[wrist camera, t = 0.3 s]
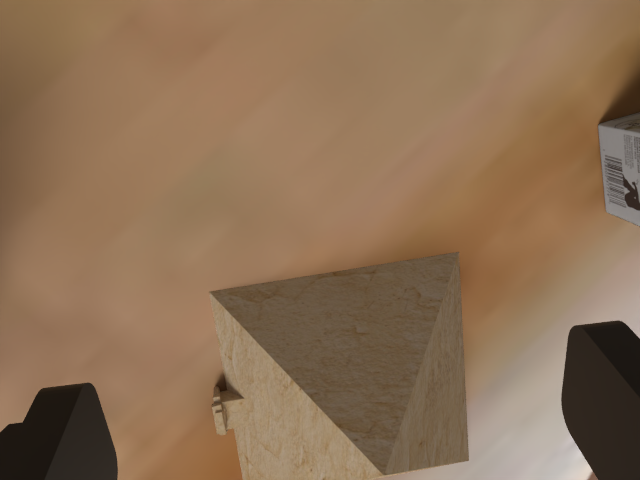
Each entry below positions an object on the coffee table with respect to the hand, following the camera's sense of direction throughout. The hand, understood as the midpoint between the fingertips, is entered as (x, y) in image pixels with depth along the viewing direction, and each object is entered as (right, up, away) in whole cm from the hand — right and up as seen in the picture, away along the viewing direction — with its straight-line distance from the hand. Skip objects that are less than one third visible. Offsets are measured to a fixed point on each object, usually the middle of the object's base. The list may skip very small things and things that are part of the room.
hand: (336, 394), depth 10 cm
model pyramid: (+1, -7, +31) cm, 32 cm away
